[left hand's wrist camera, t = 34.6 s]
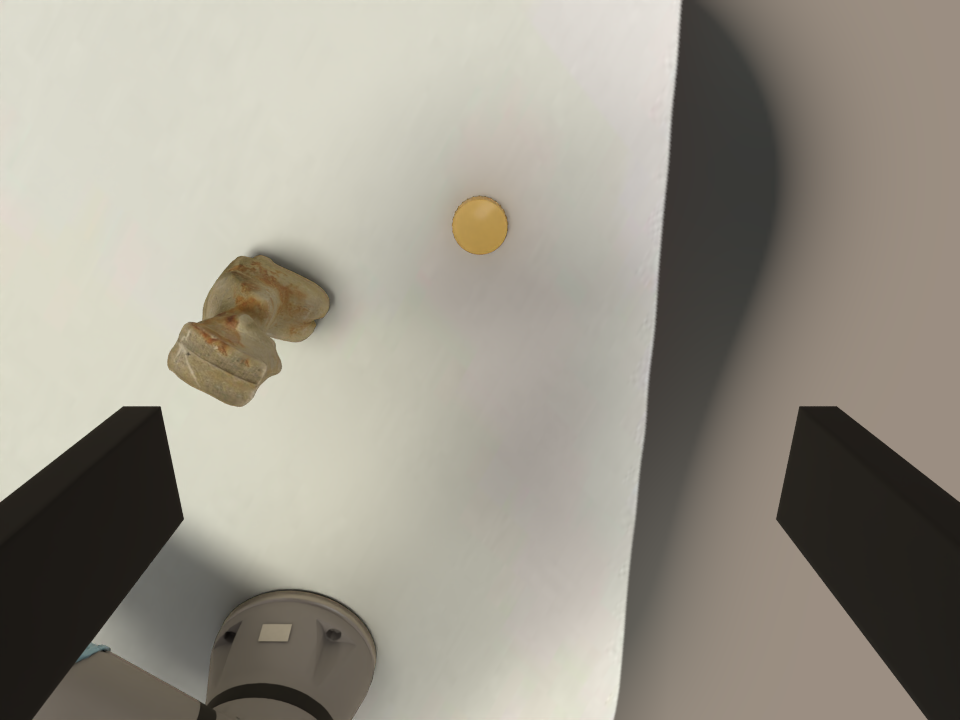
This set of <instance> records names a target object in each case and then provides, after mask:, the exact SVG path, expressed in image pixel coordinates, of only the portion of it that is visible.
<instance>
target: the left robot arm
mask: <svg viewBox="0 0 960 720" xmlns="http://www.w3.org/2000/svg"><path fill="white" fill-rule="evenodd" d="M183 520H184V517H183V513H182V508H181V503H180V498H179V493H178V488H177V484H176V479H175V474H174V469H173V464H172V459H171V455H170V450H169V445H168V440H167V435H166V430H165V426H164V421H163V416H162V411H161V406H123V407H122V408H121V409H119V410H118V411H117V412H115V413H114V414H113V415H112V416H110V417H109V418H108V419H107V420H105V421H104V422H103V423H101V424H100V425H99V426H98V427H96V428H95V429H94V430H92V431H91V432H90V433H89V434H87V435H86V436H85V437H83V438H82V439H81V440H80V441H78V442H77V443H76V444H74V445H73V446H72V447H71V448H69V449H68V450H67V451H65V452H64V453H63V454H62V455H60V456H59V457H58V458H57V459H55V460H54V461H53V462H51V463H50V464H49V465H48V466H46V467H45V468H44V469H42V470H41V471H40V472H39V473H37V474H36V475H35V476H33V477H32V478H31V479H30V480H28V481H27V482H26V483H24V484H23V485H22V486H21V487H19V488H18V489H17V490H15V491H14V492H13V493H12V494H10V495H9V496H8V497H7V498H5V499H4V500H3V501H1V502H0V720H352V718H353V716H354V715H355V713H356V711H357V710H358V708H359V706H360V705H361V703H362V702H363V700H364V698H365V696H366V694H367V692H368V690H369V687H370V685H371V682H372V679H373V674H374V668H375V663H376V650H375V645H374V642H373V639H372V637H371V635H370V633H369V631H368V629H367V628H366V626H365V625H364V624H363V622H362V621H361V620H360V619H359V618H358V617H357V616H356V615H355V614H354V613H352V612H351V611H350V610H348V609H347V608H346V607H344V606H342V605H341V604H339V603H337V602H335V601H333V600H331V599H329V598H326V597H323V596H320V595H317V594H313V593H308V592H302V591H276V592H269V593H265V594H261V595H258V596H256V597H253V598H251V599H249V600H247V601H245V602H243V603H242V604H240V605H239V606H238V607H236V608H235V609H234V610H233V611H232V612H231V613H230V614H229V615H228V617H227V618H226V620H225V621H224V623H223V625H222V627H221V629H220V631H219V633H218V635H217V637H216V639H215V642H214V646H213V649H212V653H211V659H210V669H209V678H208V687H207V696H206V705H205V704H203V703H201V702H199V701H198V700H196V699H194V698H193V697H191V696H189V695H187V694H185V693H184V692H182V691H180V690H178V689H177V688H175V687H173V686H171V685H169V684H168V683H166V682H164V681H162V680H160V679H159V678H157V677H155V676H153V675H151V674H150V673H148V672H146V671H144V670H142V669H141V668H139V667H137V666H135V665H133V664H132V663H130V662H128V661H126V660H124V659H123V658H121V657H119V656H117V655H115V654H114V653H112V652H110V650H111V649H110V648H109V647H107V646H105V645H96V644H93V643H91V641H92V640H93V639H94V637H95V636H96V635H97V633H98V632H99V631H100V629H101V628H102V627H103V625H104V624H105V623H106V621H107V620H108V619H109V618H110V616H111V615H112V614H113V612H114V611H115V610H116V608H117V607H118V606H119V604H120V603H121V602H122V600H123V599H124V598H125V596H126V595H127V594H128V592H129V591H130V590H131V588H132V587H133V586H134V584H135V583H136V582H137V581H138V579H139V578H140V577H141V575H142V574H143V573H144V571H145V570H146V569H147V567H148V566H149V565H150V563H151V562H152V561H153V559H154V558H155V557H156V555H157V554H158V553H159V551H160V550H161V549H162V548H163V546H164V545H165V544H166V542H167V541H168V540H169V538H170V537H171V536H172V534H173V533H174V532H175V530H176V529H177V528H178V526H179V525H180V524H181V522H182V521H183ZM776 520H777V521H778V522H779V524H780V525H781V526H782V528H783V529H784V530H785V532H786V533H787V534H788V536H789V537H790V538H791V540H792V541H793V542H794V543H795V545H796V546H797V548H798V549H799V550H800V551H801V553H802V554H803V555H804V557H805V558H806V559H807V561H808V562H809V563H810V565H811V566H812V567H813V569H814V570H815V571H816V573H817V574H818V575H819V577H820V578H821V579H822V581H823V582H824V583H825V584H826V586H827V587H828V588H829V590H830V591H831V592H832V594H833V595H834V596H835V598H836V599H837V600H838V602H839V603H840V604H841V606H842V607H843V608H844V610H845V611H846V612H847V614H848V615H849V616H850V617H851V619H852V620H853V621H854V623H855V624H856V625H857V627H858V628H859V629H860V631H861V632H862V633H863V635H864V636H865V637H866V639H867V640H868V641H869V643H870V644H871V645H872V647H873V648H874V649H875V651H876V652H877V653H878V654H879V656H880V657H881V658H882V660H883V661H884V662H885V664H886V665H887V666H888V668H889V669H890V670H891V672H892V673H893V674H894V676H895V677H896V678H897V680H898V681H899V682H900V684H901V685H902V686H903V687H904V689H905V690H906V691H907V693H908V694H909V695H910V697H911V698H912V699H913V701H914V702H915V703H916V705H917V706H918V707H919V709H920V710H921V711H922V713H923V714H924V715H925V716H926V718H927V719H928V720H960V502H959V501H957V500H956V499H955V498H953V497H952V496H951V495H950V494H948V493H947V492H946V491H944V490H943V489H942V488H941V487H939V486H938V485H937V484H936V483H934V482H933V481H932V480H930V479H929V478H928V477H927V476H925V475H924V474H923V473H921V472H920V471H919V470H918V469H916V468H915V467H914V466H912V465H911V464H910V463H909V462H907V461H906V460H905V459H903V458H902V457H901V456H900V455H898V454H897V453H896V452H894V451H893V450H892V449H891V448H889V447H888V446H887V445H886V444H884V443H883V442H882V441H880V440H879V439H878V438H877V437H875V436H874V435H873V434H871V433H870V432H869V431H868V430H866V429H865V428H864V427H862V426H861V425H860V424H859V423H857V422H856V421H855V420H853V419H852V418H851V417H850V416H848V415H847V414H846V413H845V412H843V411H842V410H841V409H839V408H838V407H837V406H800V407H799V411H798V416H797V421H796V426H795V431H794V435H793V440H792V445H791V450H790V455H789V460H788V464H787V469H786V474H785V479H784V484H783V488H782V493H781V498H780V503H779V508H778V513H777V518H776Z"/></svg>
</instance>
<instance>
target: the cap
mask: <svg viewBox="0 0 960 720" xmlns="http://www.w3.org/2000/svg"><path fill="white" fill-rule="evenodd" d="M504 213H505V212H504V210H503V209H502V208H501V205H499V204H498V203H497V202H496V201H494V200H492V199H491V198H487V197H486V196H484V197H480V196H479V197H473V198H470V199H467V200H466V201H465V202H462V204H461V205H460V206H458V209H457V211H455V216H454V217H453V223H452V226H453V231H452V232H453V234H454V238H455V239H456V241H457V243H458V244H459V245H460V246H461V247H462V248H463V249H464V250H466V251H468V252H470V253H473V254H487V253H490V252H492V251H494V250H496V249H497V248H498V247H499V246H500V245H501V244H502V243H503V241H504V239H505V237H506V234H507V231H508V229H507V225H508V222H507V220H506V219H507V217H506V215H505V214H504Z"/></svg>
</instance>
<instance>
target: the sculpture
mask: <svg viewBox="0 0 960 720" xmlns="http://www.w3.org/2000/svg"><path fill="white" fill-rule="evenodd" d="M329 303H330V302H329V298H328V296H327V294H326V293H325V291H324V290H323V289H322V288H321V287H320V286H318V285H317V284H315V283H314V282H312V281H310V280H308V279H307V278H305V277H303V276H301V275H299V274H296V273H294V272H292V271H290V270H288V269H285V268H283V267H281V266H279V265H277V264H275V263H273V261H272V260H271V259H270V258H268V257H266V256H263V255H258V256H255V257H253V258H250V257H245V256H239V257H237V258H236V259H235V260H234V261H232V262H231V263H230V264H229V266H228V267H227V268H226V269H225V270H224V271H223V273H222V274H221V275H220V276H219V278H218V279H217V280H216V282H215V283H214V285H213V287H212V288H211V290H210V291H209V293H208V296H207V298H206V300H205V303H204V307H203V319H202V321H200V322H198V323H195V322H188V323H186V324H185V325H184V326H183V328H182V330H181V332H180V334H179V338H178V340H177V342H176V344H175V345H174V347H173V348H172V350H171V351H170V353H169V355H168V361H167V363H168V368H169V370H171V371H173V372H174V373H175V374H176V375H177V376H178V377H179V378H180V379H181V380H183V381H184V382H186V383H187V384H189V385H190V386H192V387H194V388H196V389H198V390H200V391H203V392H205V393H207V394H209V395H211V396H213V397H214V398H216V399H218V400H220V401H222V402H224V403H226V404H229V405H232V406H237V407H242V406H244V405H246V404H247V403H249V402H250V400H251V399H252V398H253V397H254V395H255V393H256V391H257V389H258V387H259V386H260V385H261V384H262V383H263V382H264V381H265V380H266V379H267V378H269V377H271V376H273V375H276V374H278V373H279V372H280V371H281V369H282V364H281V360H280V358H279V356H278V354H277V351H276V345H275V342H274V341H273V340H272V339H271V338H270V337H272V338H275V339H280V340H284V341H289V342H301V341H303V340H305V339H306V338H308V337H309V336H310V335H311V334H312V333H313V331H314V328H315V327H316V323H315V321H314V320H316V319H320V318H323V317H324V316H325V315H326V313H327V312H328V309H329Z"/></svg>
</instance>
